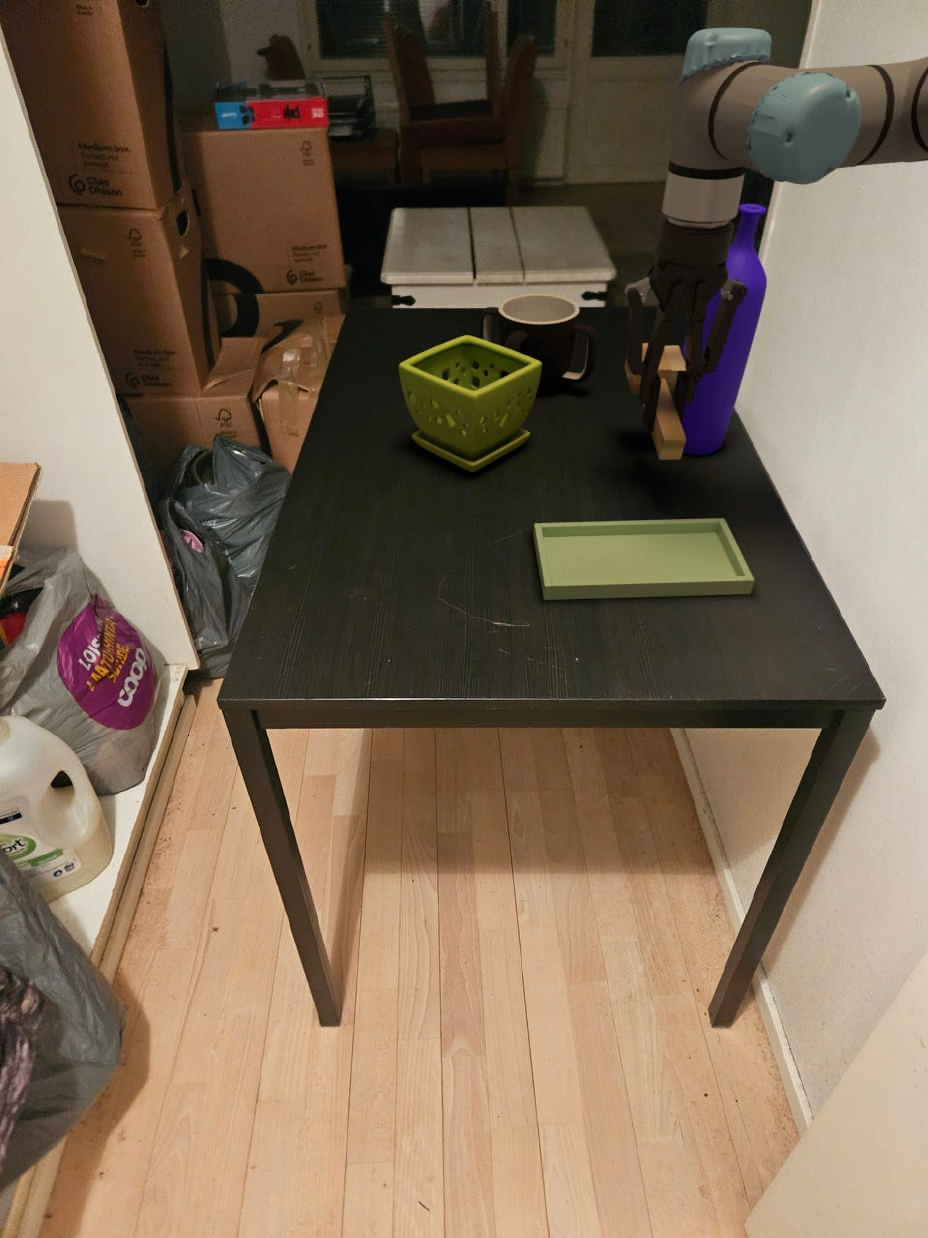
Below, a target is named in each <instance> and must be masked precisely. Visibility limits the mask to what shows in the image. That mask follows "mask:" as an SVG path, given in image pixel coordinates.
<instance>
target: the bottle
mask: <svg viewBox="0 0 928 1238" xmlns="http://www.w3.org/2000/svg"><path fill="white" fill-rule="evenodd" d="M738 212H739V213H740V215H741V216H740V220H739V225H738V229H737V232H736V235H735V238H734V240H733V242H732V243H731V245H730V249H729V254H728V259H727V262H726V268H727V271H728V277H730V278H732V279H734V280H735V279H739V280H740V281H741V282H742V283H743V284H744V285H745V287H746V288H747V290H748V293H747V295H746V296H745V298H744V299H743V300H742V302H741V303H740V305H739V306H738V308H737V309H736V312H735V315H734V318H733V321H732V324H731V327H730V331H729V334H728V337H727V340H726V343H725V346H724V349H723V352H722V355H721V358H720V361H719V364H718V367H717V370H716V371H715V372H714V373H705V374H702V379H701V380H700V381H698V382H697V387H696V392H695V397H694V400H693V401H692V403H685V409H684V414H683V419H682V424H681V425H682V428H683V431H684V434H685V437H686V442H685V446H684V449H683V453H684V454H688V455H694V456H706V455H710V454H714V453H716V452H717V451H718V450H719V449H720V448H721V447H722V445H723V443H724V440H725V437H726V435H727V432H728V428H729V425H730V422H731V419H732V416H733V412H734V408H735V406H736V402H737V399H738V396H739V392H740V390H741V385H742V382H743V379H744V376H745V375H744V374H745V372H746V367H747V364H748V361H749V357H750V354H751V351H752V346H753V343H754V339H755V335H756V332H757V329H758V324H759V321H760V317H761V314H762V309H763V305H764V301H765V297H766V292H767V286H768V278H767V274H766V272H765V269H764V267H763V265H762V262H761V260H760V258H759V256H758V254H757V252H756V250H755V246H754V240H755V235H756V231H757V227H758V223H759V219H760V217H761V216H762V215H764V214H766V212H767V209H766V207H764V206H763V205H760V204H757V203H743V204H739V206H738ZM721 290H722V288H721V289H720V290H719V291H718V292H717V293H716V295H715V296H714V297H713V298H712V299H711V300H710V301H709V303H708V304H707V306H706V319H705V321H704V331H703V346H702V356H703V353H704V350H705V346H706V343H707V340H708V337H709V334H710V330H711V327H712V324H713V321H714V317H715V314H716V311H717V308H718V305H719V302H720V299H721ZM686 341H687V332H686V334H685V338H684V343H683V347H682V351H681V353H682V356H683V358H684V361H685V360H686ZM672 391H673V392H672V395H671V396H672V399H673V396H674V390H672ZM683 453H682V454H683Z"/></svg>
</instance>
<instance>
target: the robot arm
mask: <svg viewBox="0 0 928 1238" xmlns="http://www.w3.org/2000/svg"><path fill="white" fill-rule="evenodd" d="M772 40H773V39H772V36H771V35H770V33H769V32H768V31H766V30H764V29H759V28H751V27H750V28H749V27H714V28H706V29H705V28H704V29H700V30H697V31H695V32H694V33H693V34H692V35H691V36H690V37H689V39H688V42H687V45H686V48H685V49H686V50H685V55H684V60H683V65H682V71H681V76H680V77H679V79H678V83H677V86H678V90H677V97H676V104H675V111H674V112H675V113H674V118H673V119H674V120H673V127H672V134H671V141H670V150H669V158H668V160H669V161H668V167H667V174H666V180H665V187H664V192H663V200H662V205H661V212H662V213H663V215H664V216H663V217H662V219H660V221H659V225H658V231H657V238H656V245H655V251H654V252H655V253H654V259H653V263H652V265H651V267H650V269H648V272H647V275H646V277H644V278H642V279H640V280H638V281H636V282H633V281H627V282H626V283H625V284H624V285H623V292H624V294H625V297H626V299H627V303H628V323H627V324H628V325H627V327H628V328H627V352H628V357H627V356H626V357H627V363H628V366H629V368H630V370H631V373H632V374H633V375H640V376H641V383H640V389H639V394H638V397H639V401H640V402H641V405H643V404H645V408H643V416H642V423H643V427H644V428H645V431H646V433H651V432H653V429H654V423H655V417H656V411H657V405H658V400H659V394H660V388H661V382H662V381H661V379H660V377H659V375H658V373H657V371H658V368H659V365H660V361H661V358H662V355H663V351H664V348H665V346H667V345H666V344H667V342H668V341H667V340H668V338H669V336H670V331H671V327H672V325H673V323H675V320H676V316H677V314H679V313H682V312H686V313H687V321H686V322H687V324H686V333H687V341H686V360H685V368H686V371H678V374H677V379H676V385H675V390H673V391H674V396H673V395H672V396H673V402H674V405H675V408H676V411H677V414H678V417H679V420H680V422H681V424H682V419H683V414H684V409H685V403H692V401H693V400H694V397H695V392H696V387H697V382H698V381H700V380H701V379H702V374H705V373H714V372H715V371H716V370H717V367H718V364H719V361H720V358H721V355H722V352H723V349H724V346H725V343H726V340H727V337H728V334H729V331H730V327H731V324H732V321H733V318H734V315H735V312H736V309H737V308H738V306H739V305H740V303H741V302H742V300H743V299H744V298H745V296H746V295H747V293H748V290H747V288H746V287H745V285H744V284H743V283H742V282H741V281H740V280H739V279H735V280H734V279H732V278H730V277H728V271H727V268H726V262H727V259H728V254H729V249H730V246H731V245H732V239H733V234H734V230H735V225H734V223H733V221H732V220H733V219H734V218H735V217H737V215H738V212H739V210H738V207H739V206H740V201H741V195H742V191H743V186H744V181H745V180H744V179H745V174H746V171H747V169H748V170H752V171H753V172H756V173H759V174H761V175H763V176H764V177H765V178H770V179H771V180H772V181H774V182H778V183H779V182H780V183H784V182H785V183H791V184H794V185H810V184H811V185H812V184H814V183H817V182H819V181H821V180H822V179H823V178H825V177H827V176H828V175H829V174H831V173H833V172H834V171H836V170H837V169H846V168H847V169H848V168H855V167H858V166H859V167H860V166H871V165H883V164H898V163H919V162H927V161H928V56H925V57H921V58H918V59H914V60H908V61H901V62H891V63H882V64H862V65H845V66H831V67H830V66H829V67H826V66H825V67H812V68H792V67H784V66H777V65H771V64H770V63H771V60H772V59H771V49H772V42H773V41H772ZM721 288H722V290H721V299H720V302H719V305H718V308H717V311H716V314H715V317H714V321H713V324H712V327H711V330H710V334H709V337H708V340H707V343H706V346H705V350H704V353H703V356H702V346H703V331H704V321H705V319H706V306H707V304H708V303H709V301H710V300H711V299H712V298H713V297H714V296H715V295H716V293H717V292H718V291H719V290H720V289H721ZM650 289H651V290H652V291H653V293H654V296H655V298H656V299H657V300H658V302H657V307H656V315H655V319H654V322H653V325H652V330H651V332H650V336H649V340H648V347H647V350H646V354H645V357H644V361H642V351H643V343H644V320H645V309H644V304H643V303H645V302H646V301H647V300H648V292H649V291H650Z"/></svg>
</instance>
